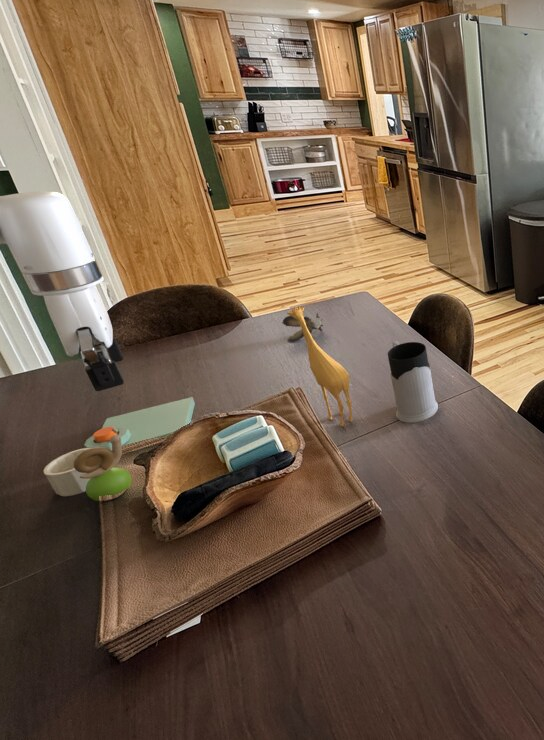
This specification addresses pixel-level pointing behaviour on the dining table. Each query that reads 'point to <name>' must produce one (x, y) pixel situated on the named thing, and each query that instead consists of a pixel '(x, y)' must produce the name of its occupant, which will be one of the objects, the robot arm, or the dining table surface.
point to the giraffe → (325, 368)
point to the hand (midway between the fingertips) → (110, 374)
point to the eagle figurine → (294, 322)
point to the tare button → (103, 434)
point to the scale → (148, 423)
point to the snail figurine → (103, 469)
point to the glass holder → (412, 382)
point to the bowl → (66, 475)
